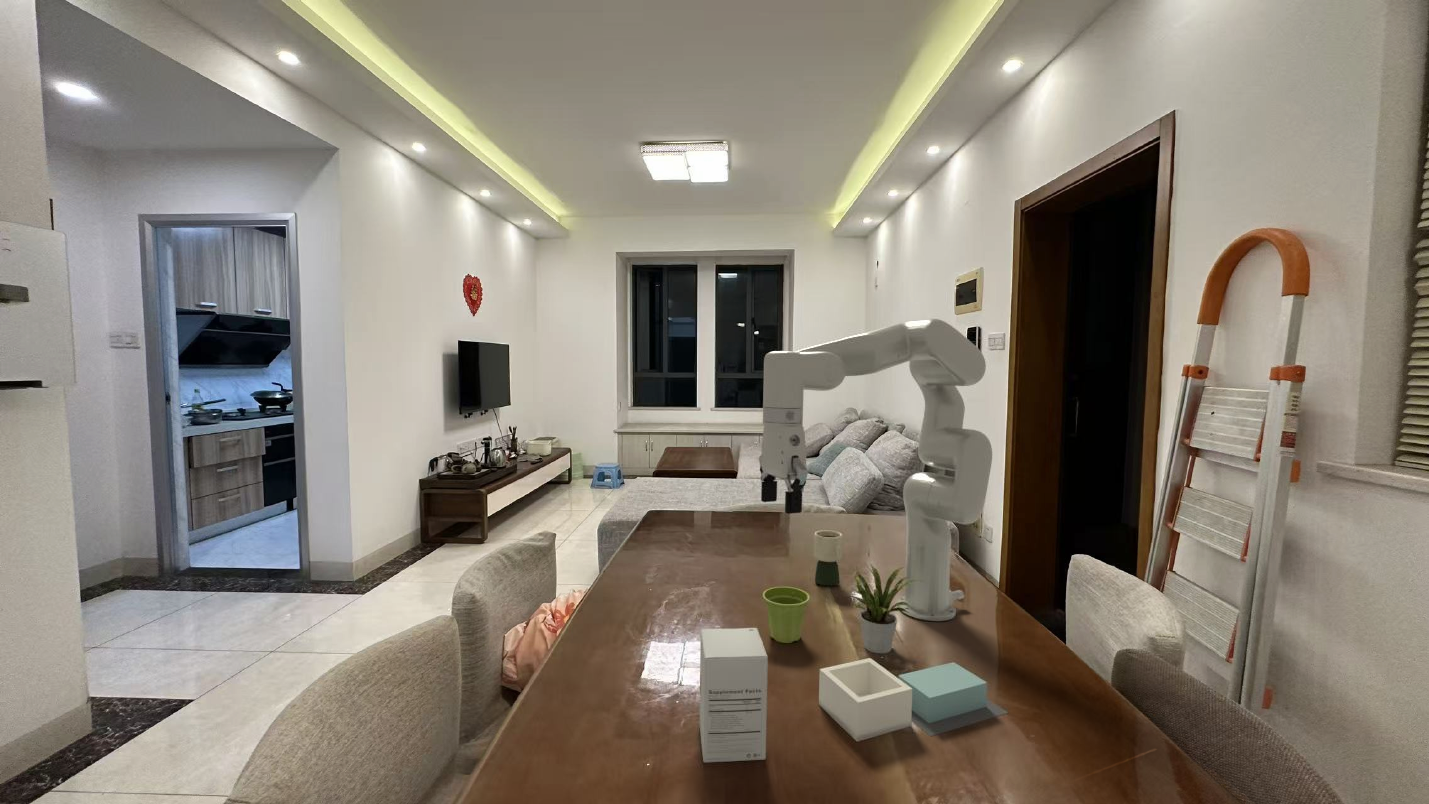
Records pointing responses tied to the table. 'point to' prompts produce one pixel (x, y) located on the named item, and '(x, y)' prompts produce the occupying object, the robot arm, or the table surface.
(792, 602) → the plant pot
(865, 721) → the white open-top box
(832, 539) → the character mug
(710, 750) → the supplement box
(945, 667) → the teal rectangular block
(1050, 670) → the table surface
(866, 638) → the house plant
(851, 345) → the robot arm
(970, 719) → the mat
